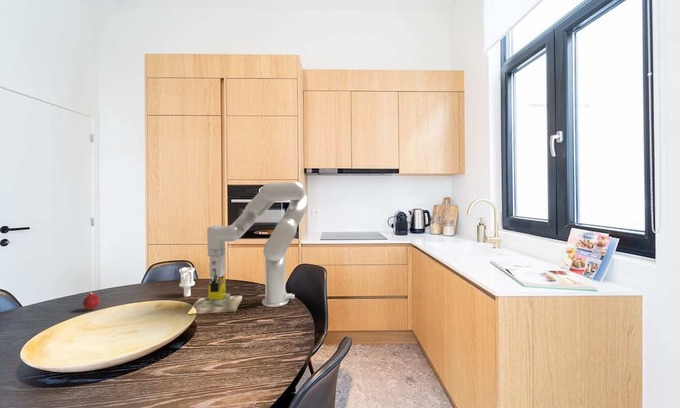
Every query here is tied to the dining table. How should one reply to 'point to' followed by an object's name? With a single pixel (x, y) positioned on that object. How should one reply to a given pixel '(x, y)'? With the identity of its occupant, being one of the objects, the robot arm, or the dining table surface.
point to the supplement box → (221, 293)
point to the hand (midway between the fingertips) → (217, 288)
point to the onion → (91, 301)
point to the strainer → (186, 280)
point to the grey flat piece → (217, 304)
